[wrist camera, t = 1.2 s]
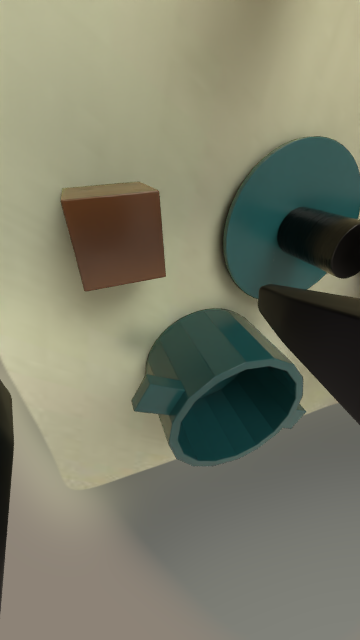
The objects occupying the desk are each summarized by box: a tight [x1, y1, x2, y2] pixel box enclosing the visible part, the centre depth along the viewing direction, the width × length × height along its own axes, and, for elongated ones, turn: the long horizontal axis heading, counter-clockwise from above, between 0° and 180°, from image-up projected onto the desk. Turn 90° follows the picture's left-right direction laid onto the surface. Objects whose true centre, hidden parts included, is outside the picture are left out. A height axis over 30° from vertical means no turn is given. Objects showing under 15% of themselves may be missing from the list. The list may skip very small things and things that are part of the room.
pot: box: [132, 309, 306, 466], centre depth 24 cm, size 11×17×7 cm
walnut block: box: [61, 182, 166, 291], centre depth 16 cm, size 5×5×5 cm
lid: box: [223, 136, 360, 299], centre depth 20 cm, size 12×12×7 cm
